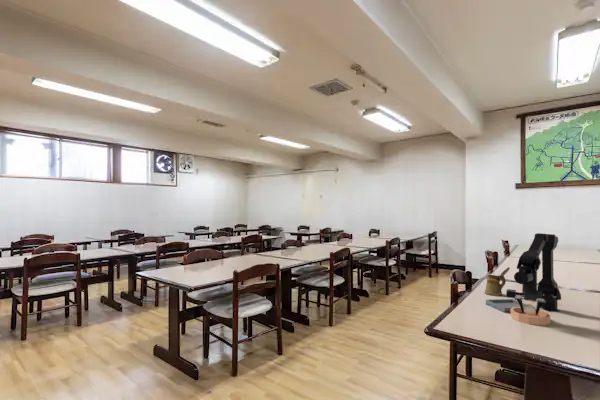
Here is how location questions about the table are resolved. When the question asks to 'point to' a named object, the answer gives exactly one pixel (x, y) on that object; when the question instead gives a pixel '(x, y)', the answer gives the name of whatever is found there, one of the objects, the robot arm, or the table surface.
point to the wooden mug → (495, 284)
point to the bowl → (530, 317)
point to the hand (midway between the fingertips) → (529, 314)
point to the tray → (503, 304)
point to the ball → (529, 309)
